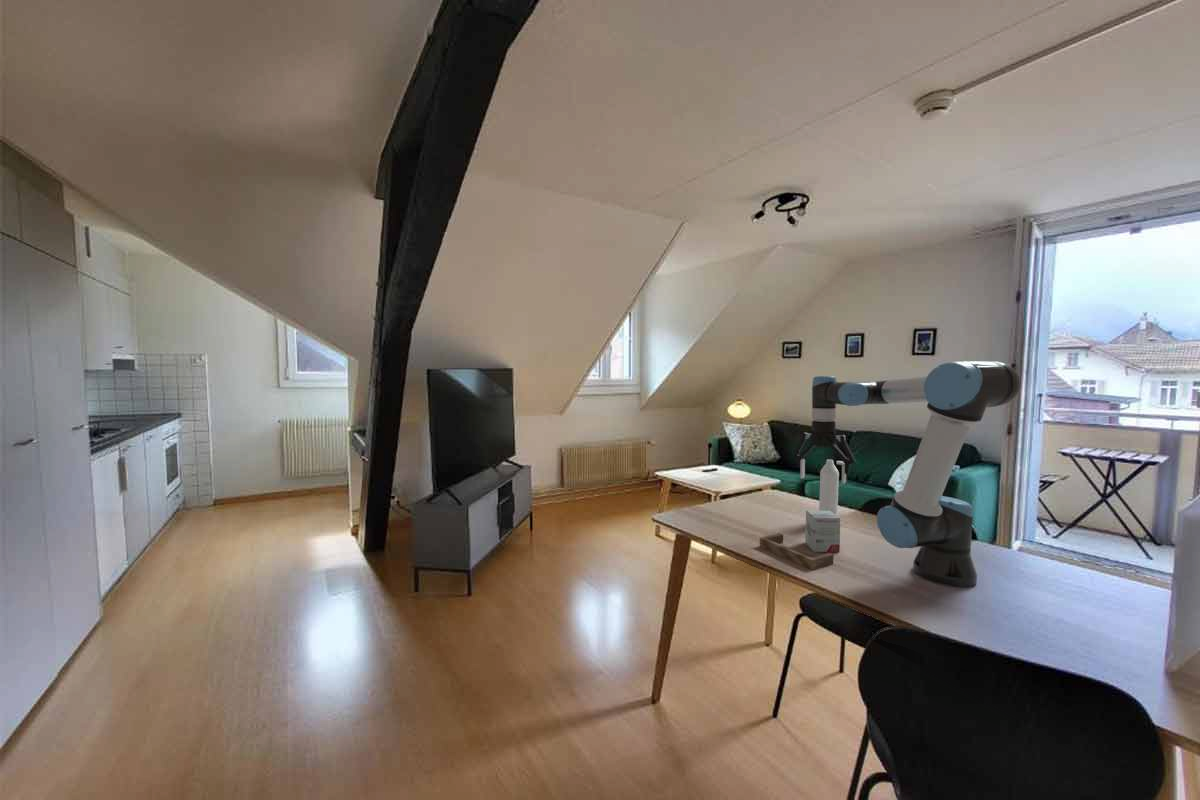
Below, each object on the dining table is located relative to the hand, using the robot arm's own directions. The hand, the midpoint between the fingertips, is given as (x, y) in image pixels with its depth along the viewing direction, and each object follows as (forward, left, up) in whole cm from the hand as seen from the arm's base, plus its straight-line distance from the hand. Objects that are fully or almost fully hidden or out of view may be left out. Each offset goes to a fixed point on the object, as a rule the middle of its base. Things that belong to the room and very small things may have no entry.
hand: (822, 480), depth 168 cm
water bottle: (+8, -16, -21) cm, 28 cm away
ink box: (-6, +7, -21) cm, 23 cm away
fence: (-6, +20, -21) cm, 30 cm away
